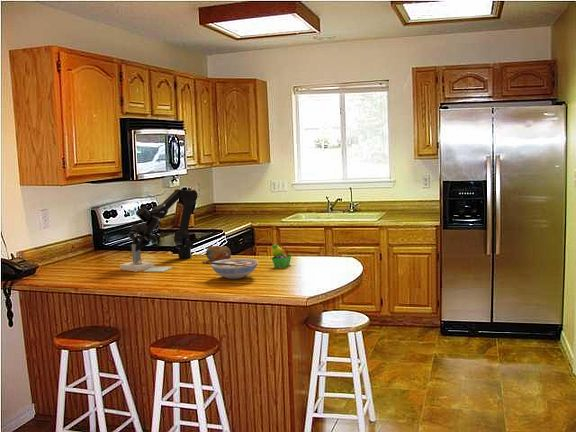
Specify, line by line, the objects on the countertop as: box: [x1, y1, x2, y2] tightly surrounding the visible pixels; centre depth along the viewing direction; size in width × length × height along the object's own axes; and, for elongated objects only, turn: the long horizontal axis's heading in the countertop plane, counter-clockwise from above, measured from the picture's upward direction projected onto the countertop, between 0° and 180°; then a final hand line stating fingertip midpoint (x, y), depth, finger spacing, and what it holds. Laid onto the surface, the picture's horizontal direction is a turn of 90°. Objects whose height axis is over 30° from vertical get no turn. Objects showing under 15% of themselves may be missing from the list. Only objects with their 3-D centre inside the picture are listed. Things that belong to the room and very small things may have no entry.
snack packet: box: [205, 245, 232, 262], centre depth 344 cm, size 15×3×8 cm, turn 62°
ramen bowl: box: [202, 257, 259, 280], centre depth 298 cm, size 25×23×8 cm
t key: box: [131, 243, 143, 263], centre depth 331 cm, size 3×6×10 cm, turn 51°
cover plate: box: [119, 260, 155, 272], centre depth 332 cm, size 12×13×2 cm
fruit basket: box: [271, 244, 292, 269], centre depth 322 cm, size 11×9×11 cm
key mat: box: [143, 265, 174, 273], centre depth 325 cm, size 11×11×1 cm
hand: (133, 250), depth 329 cm, fingers closed on t key, 3 cm apart
